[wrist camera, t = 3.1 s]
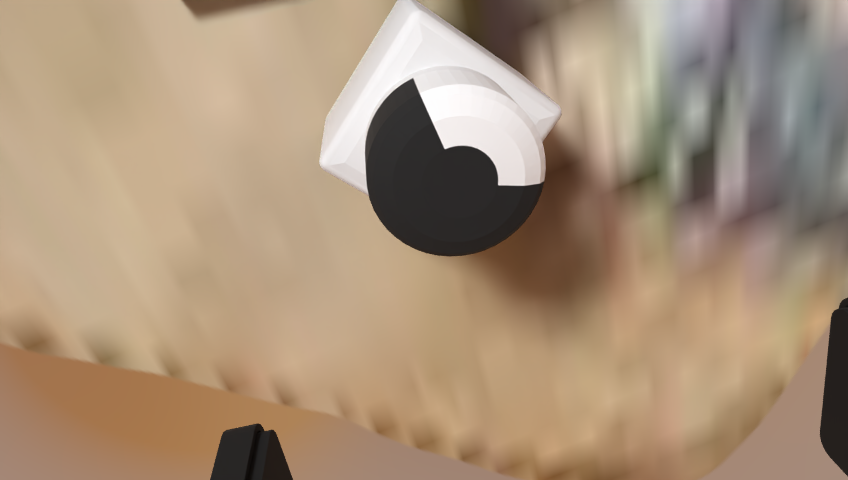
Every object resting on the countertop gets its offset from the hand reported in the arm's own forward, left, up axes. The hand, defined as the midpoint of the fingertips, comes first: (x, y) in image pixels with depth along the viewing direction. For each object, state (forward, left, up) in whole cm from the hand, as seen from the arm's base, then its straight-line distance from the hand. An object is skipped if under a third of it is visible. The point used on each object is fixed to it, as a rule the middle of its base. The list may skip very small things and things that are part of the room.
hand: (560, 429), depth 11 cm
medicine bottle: (0, 0, -24) cm, 24 cm away
